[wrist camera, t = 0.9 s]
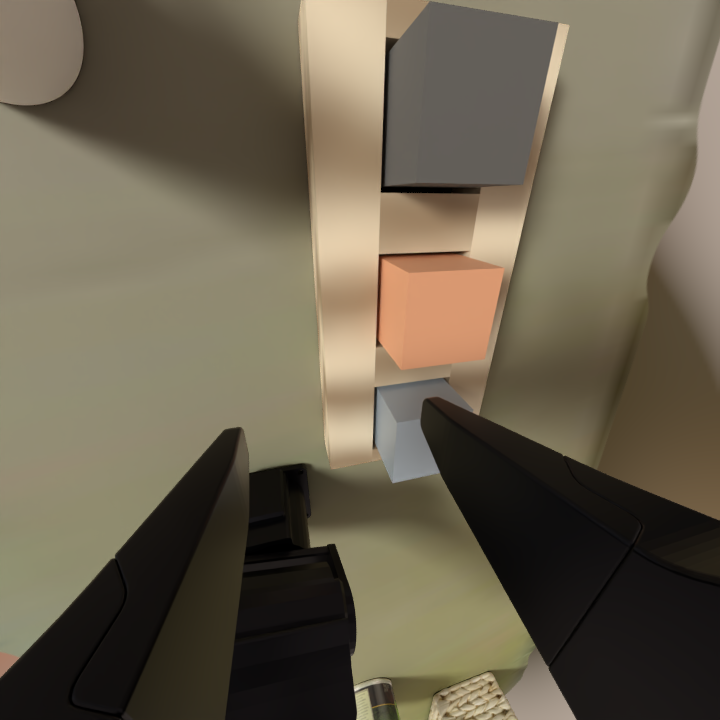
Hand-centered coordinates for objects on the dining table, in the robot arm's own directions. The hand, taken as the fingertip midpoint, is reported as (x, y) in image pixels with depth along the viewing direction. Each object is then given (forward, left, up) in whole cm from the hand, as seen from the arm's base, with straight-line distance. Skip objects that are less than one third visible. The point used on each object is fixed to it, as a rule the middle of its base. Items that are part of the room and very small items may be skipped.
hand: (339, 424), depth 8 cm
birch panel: (0, -7, -13) cm, 15 cm away
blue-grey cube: (-8, -7, -12) cm, 16 cm away
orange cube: (0, -7, -12) cm, 13 cm away
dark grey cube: (+9, -7, -12) cm, 16 cm away
